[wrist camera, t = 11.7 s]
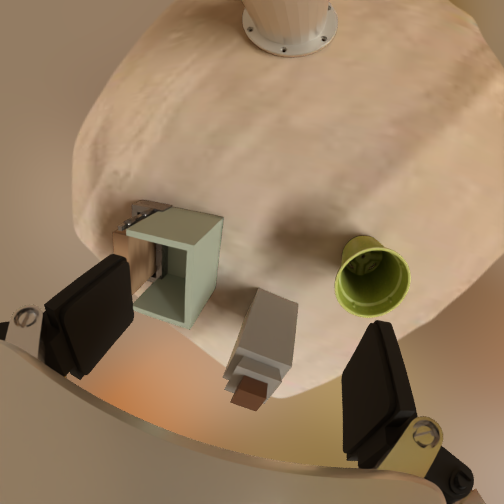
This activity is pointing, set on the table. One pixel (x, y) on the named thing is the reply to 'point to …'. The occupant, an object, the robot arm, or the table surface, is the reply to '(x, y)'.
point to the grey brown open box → (141, 212)
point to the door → (136, 257)
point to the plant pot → (371, 278)
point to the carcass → (181, 263)
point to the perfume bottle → (262, 350)
